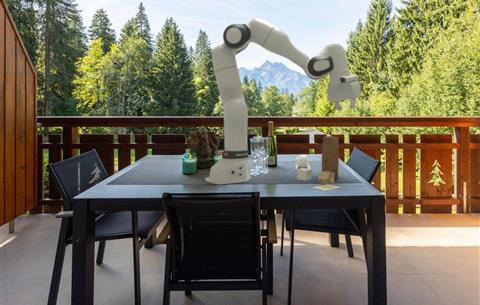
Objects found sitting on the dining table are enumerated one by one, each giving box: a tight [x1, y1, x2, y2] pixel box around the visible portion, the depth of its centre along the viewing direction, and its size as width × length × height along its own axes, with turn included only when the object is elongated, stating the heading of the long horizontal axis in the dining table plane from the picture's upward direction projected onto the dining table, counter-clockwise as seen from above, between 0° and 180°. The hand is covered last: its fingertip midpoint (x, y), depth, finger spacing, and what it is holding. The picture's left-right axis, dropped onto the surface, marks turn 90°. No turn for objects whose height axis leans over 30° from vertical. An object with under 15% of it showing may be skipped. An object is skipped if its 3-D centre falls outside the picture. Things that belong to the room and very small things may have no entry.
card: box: [312, 184, 342, 192], centre depth 162 cm, size 10×7×1 cm
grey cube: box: [296, 167, 313, 182], centre depth 180 cm, size 5×5×5 cm
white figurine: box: [294, 154, 312, 171], centre depth 206 cm, size 8×8×15 cm
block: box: [321, 135, 340, 180], centre depth 183 cm, size 11×8×20 cm
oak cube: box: [317, 171, 335, 185], centre depth 171 cm, size 5×5×5 cm
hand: (346, 109), depth 173 cm, fingers open, 8 cm apart
